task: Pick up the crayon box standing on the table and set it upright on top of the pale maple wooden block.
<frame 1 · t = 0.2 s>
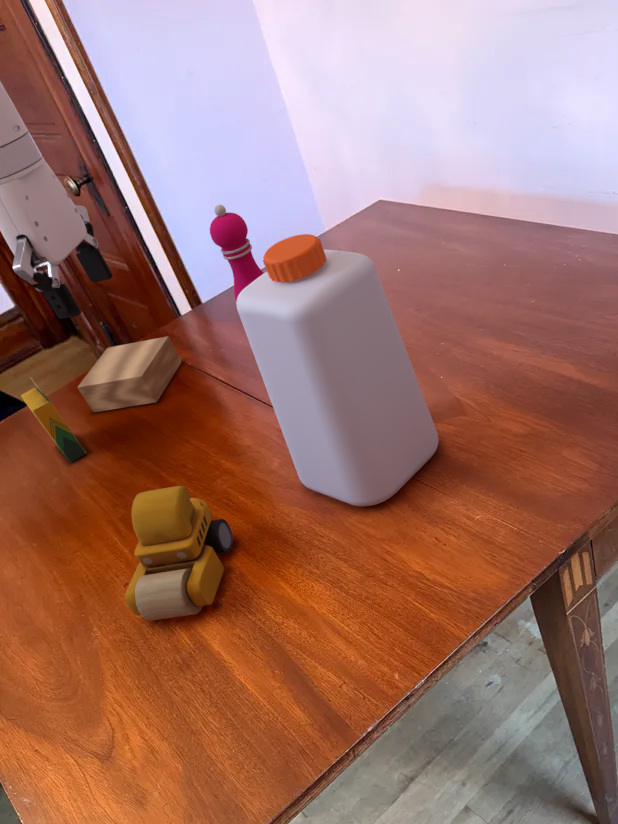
hand: (87, 297, 97), 22 cm above the table, tool pointing down, fingers open, 9 cm apart
crayon box: (72, 451, 115), on the table
maple block: (138, 386, 125), on the table
plastic bottle: (371, 465, 93), on the table
toy roller: (191, 579, 86), on the table
pepper mill: (266, 320, 131), on the table
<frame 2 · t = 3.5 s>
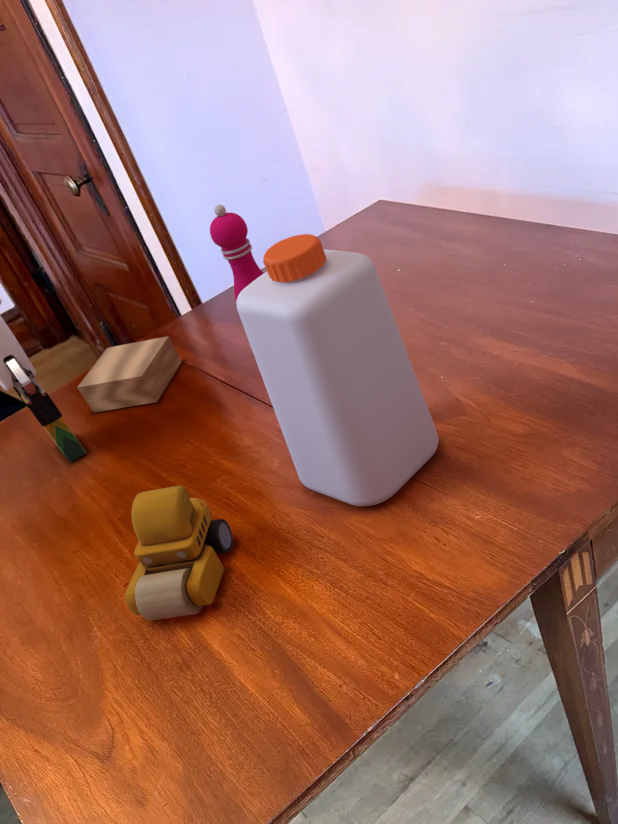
hand: (45, 411, 110), 7 cm above the table, tool pointing down, fingers closed on crayon box, 7 cm apart
crayon box: (72, 451, 115), on the table, touching gripper
everything else where it was.
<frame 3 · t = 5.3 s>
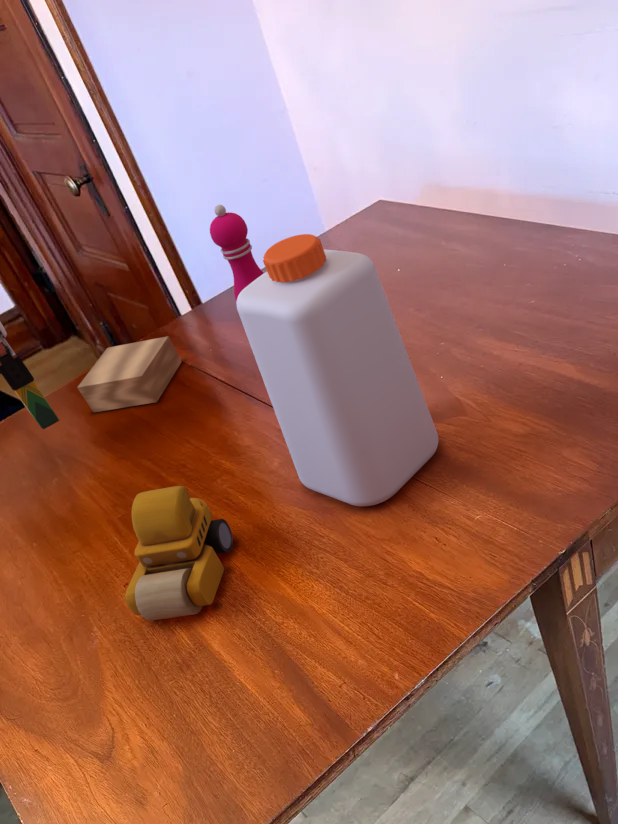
hand: (16, 375, 106), 14 cm above the table, tool pointing down, fingers closed on crayon box, 7 cm apart
crayon box: (45, 418, 111), point 6 cm above the table, touching gripper
everything else where it was.
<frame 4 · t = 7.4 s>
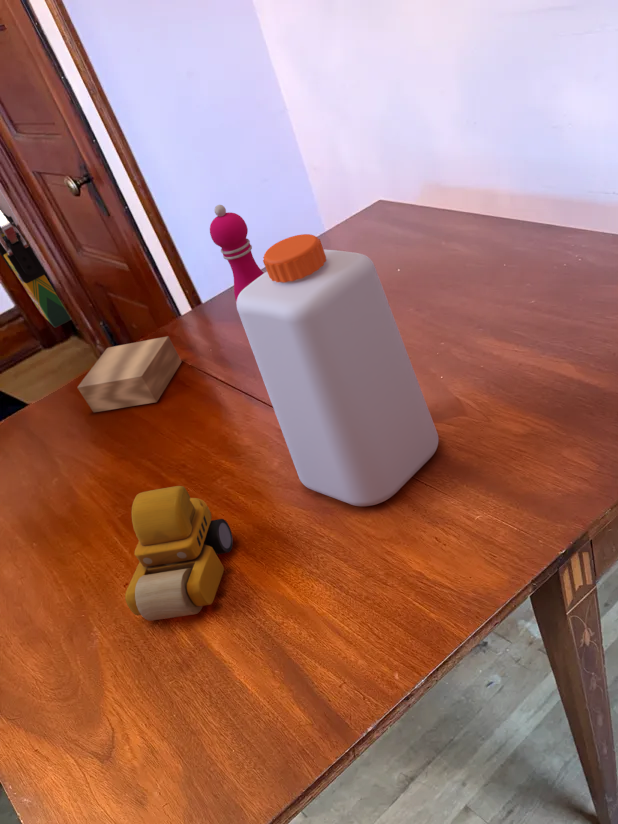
hand: (28, 271, 106), 24 cm above the table, tool pointing down, fingers closed on crayon box, 7 cm apart
crayon box: (57, 319, 111), point 16 cm above the table, touching gripper
everything else where it was.
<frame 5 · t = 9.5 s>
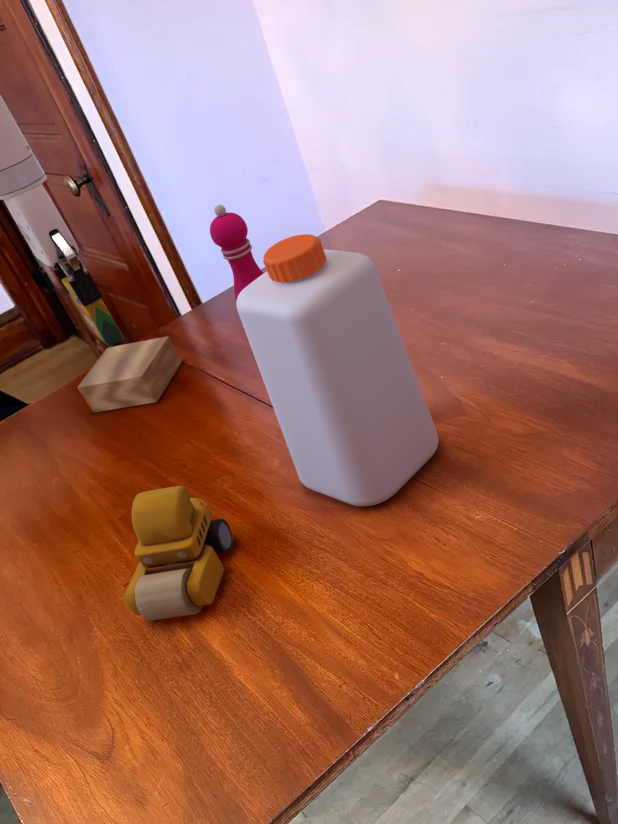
hand: (84, 295, 114), 17 cm above the table, tool pointing down, fingers closed on crayon box, 7 cm apart
crayon box: (110, 338, 119), point 9 cm above the table, touching gripper
everything else where it was.
when the fingers open (12 cm above the table, at t = 11.2 s): crayon box stays where it is, resting on maple block.
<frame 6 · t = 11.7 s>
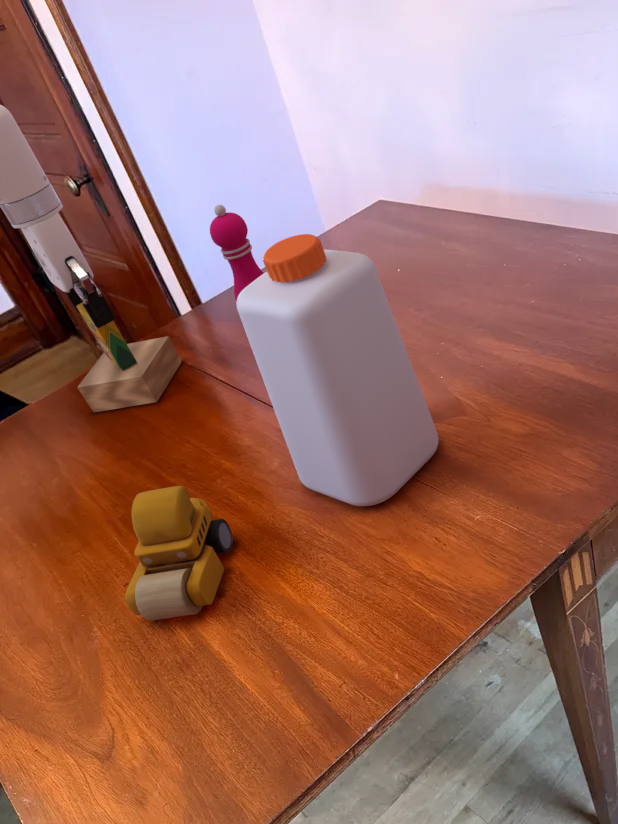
hand: (96, 315, 116), 13 cm above the table, tool pointing down, fingers open, 9 cm apart
crayon box: (123, 362, 122), point 5 cm above the table, touching maple block
everything else where it was.
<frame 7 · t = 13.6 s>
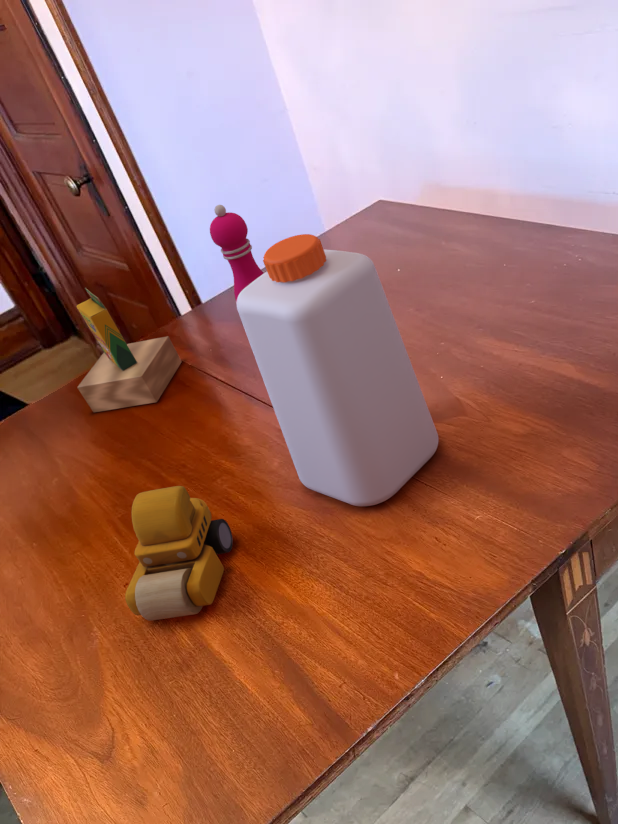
nothing on the table moved.
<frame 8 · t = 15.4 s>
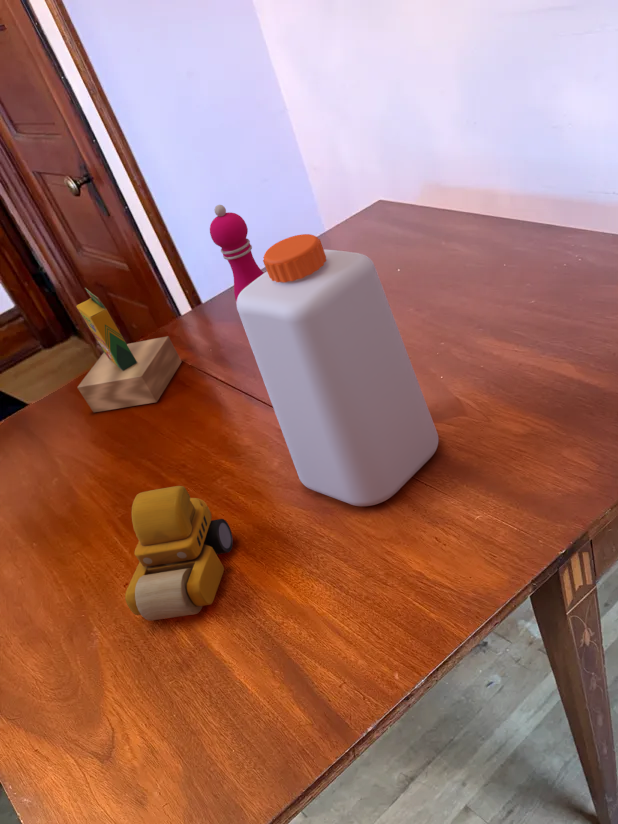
nothing on the table moved.
at the end: crayon box inside the target area on the maple block (0.1 cm from its centre), point 4.8 cm above the maple block's base; crayon box tilted 0° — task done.
